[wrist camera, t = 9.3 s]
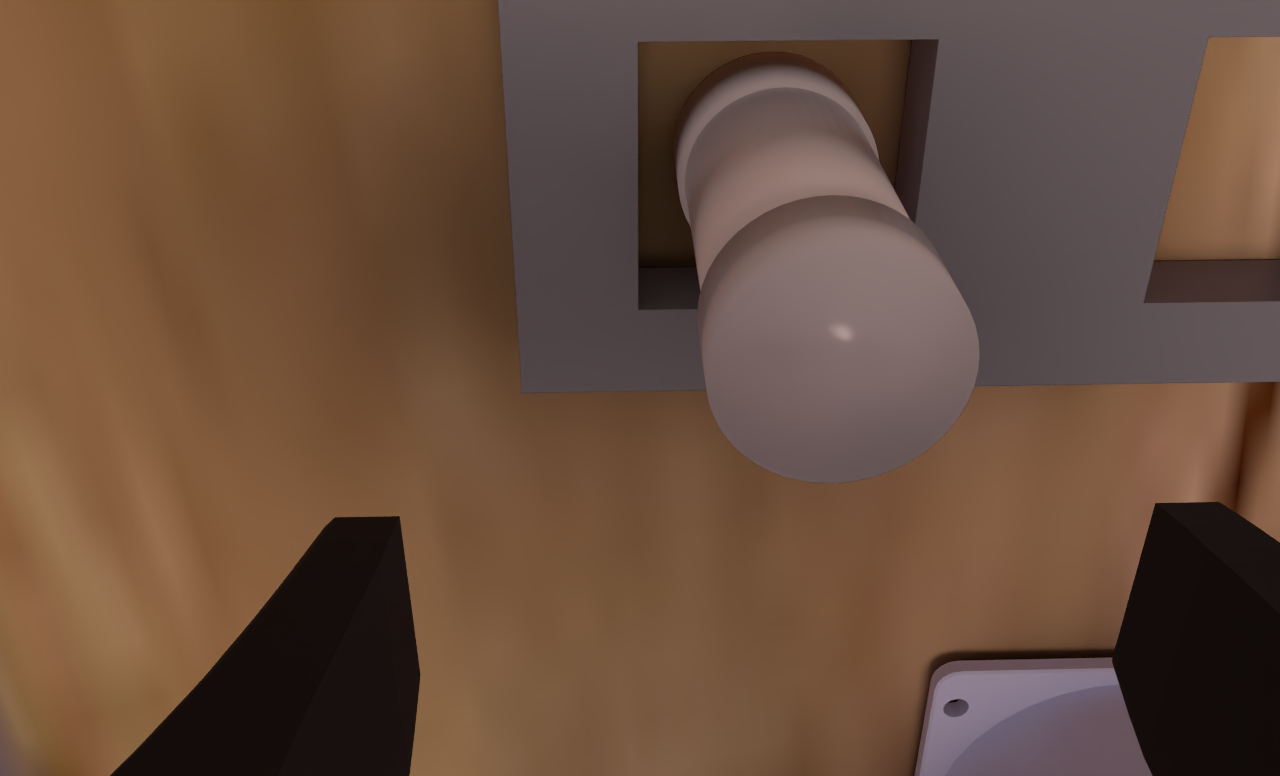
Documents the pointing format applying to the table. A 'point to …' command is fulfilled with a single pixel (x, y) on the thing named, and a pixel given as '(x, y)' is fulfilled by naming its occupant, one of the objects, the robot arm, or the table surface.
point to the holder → (902, 184)
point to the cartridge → (814, 279)
